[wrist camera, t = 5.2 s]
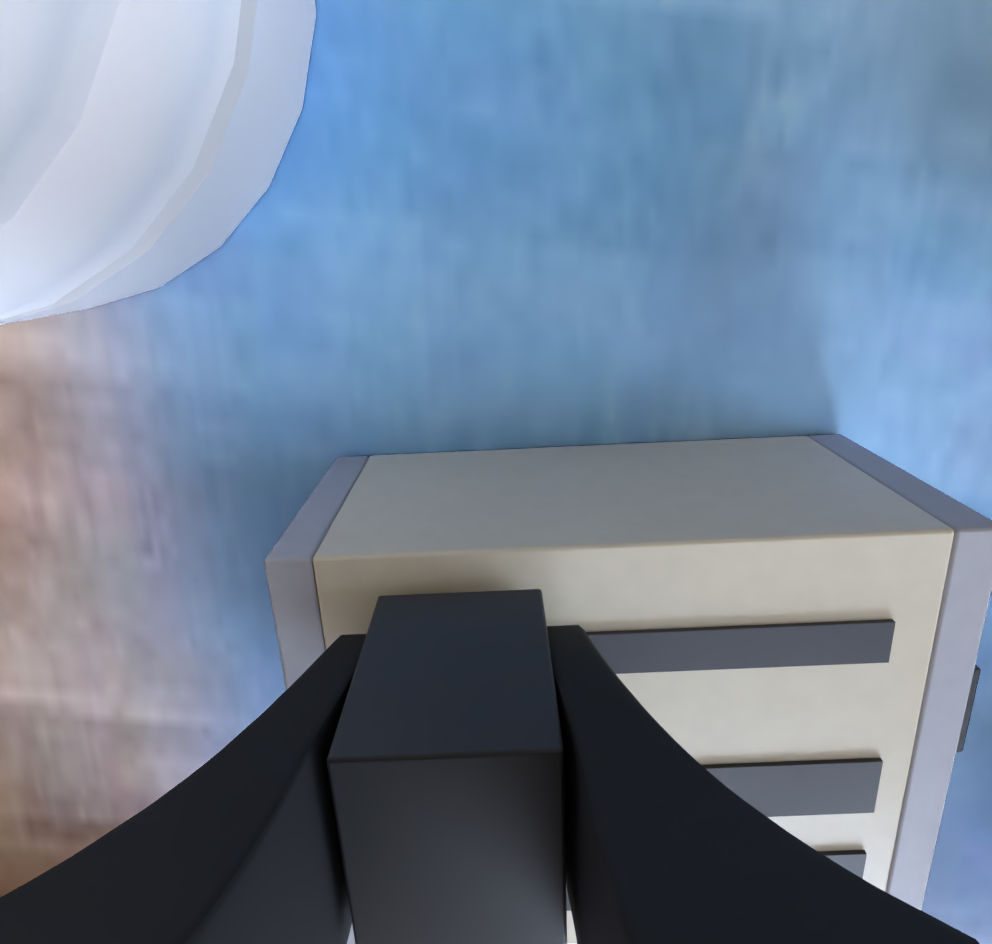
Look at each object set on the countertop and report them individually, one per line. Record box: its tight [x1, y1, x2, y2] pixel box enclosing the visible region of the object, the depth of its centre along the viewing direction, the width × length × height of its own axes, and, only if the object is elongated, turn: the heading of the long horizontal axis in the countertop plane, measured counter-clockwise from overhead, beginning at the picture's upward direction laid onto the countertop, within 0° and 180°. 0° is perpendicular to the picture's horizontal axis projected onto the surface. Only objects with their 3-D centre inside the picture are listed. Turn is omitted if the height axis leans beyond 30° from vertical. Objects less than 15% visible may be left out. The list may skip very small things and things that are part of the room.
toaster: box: [264, 434, 992, 944], centre depth 15 cm, size 13×9×6 cm
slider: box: [326, 589, 567, 944], centre depth 10 cm, size 3×3×4 cm
